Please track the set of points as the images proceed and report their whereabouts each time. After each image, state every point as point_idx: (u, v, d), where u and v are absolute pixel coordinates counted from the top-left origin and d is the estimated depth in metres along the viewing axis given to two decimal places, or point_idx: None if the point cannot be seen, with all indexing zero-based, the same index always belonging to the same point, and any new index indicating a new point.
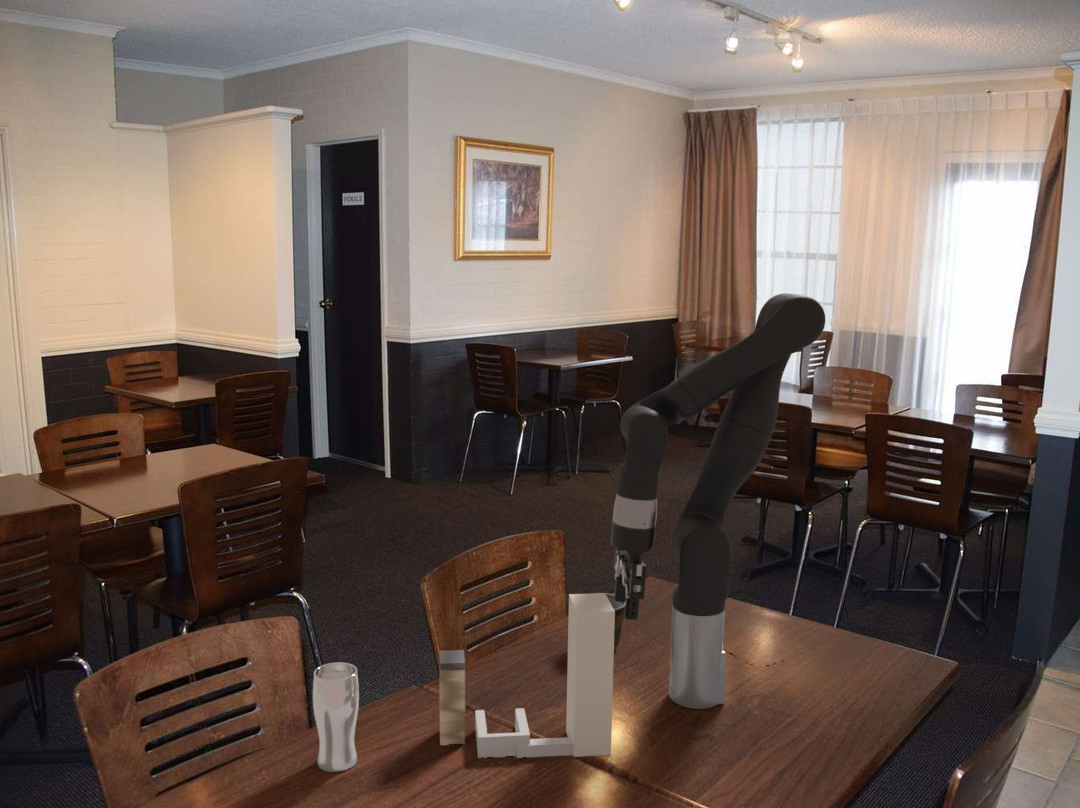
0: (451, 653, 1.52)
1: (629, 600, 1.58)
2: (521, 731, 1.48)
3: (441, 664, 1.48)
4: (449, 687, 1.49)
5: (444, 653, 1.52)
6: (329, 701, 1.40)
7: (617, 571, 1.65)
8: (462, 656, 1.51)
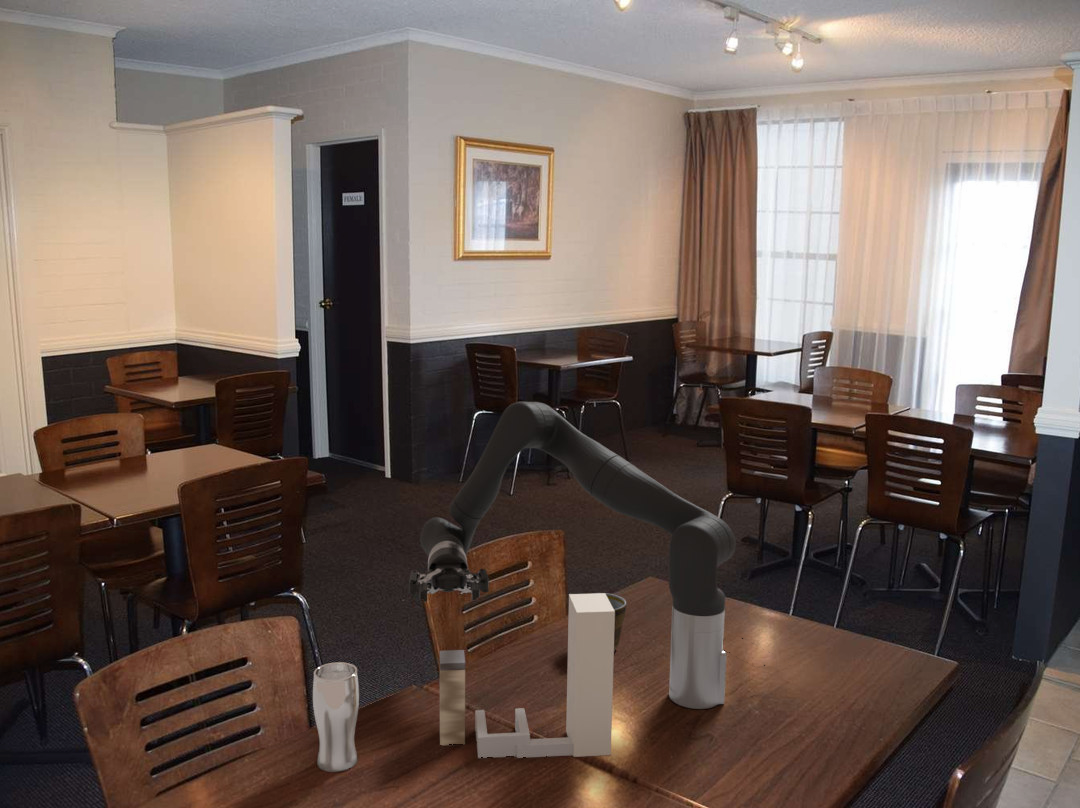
0: (451, 653, 1.52)
1: None
2: (521, 731, 1.48)
3: (441, 664, 1.48)
4: (449, 687, 1.49)
5: (444, 653, 1.52)
6: (329, 701, 1.40)
7: (464, 591, 1.68)
8: (462, 656, 1.51)
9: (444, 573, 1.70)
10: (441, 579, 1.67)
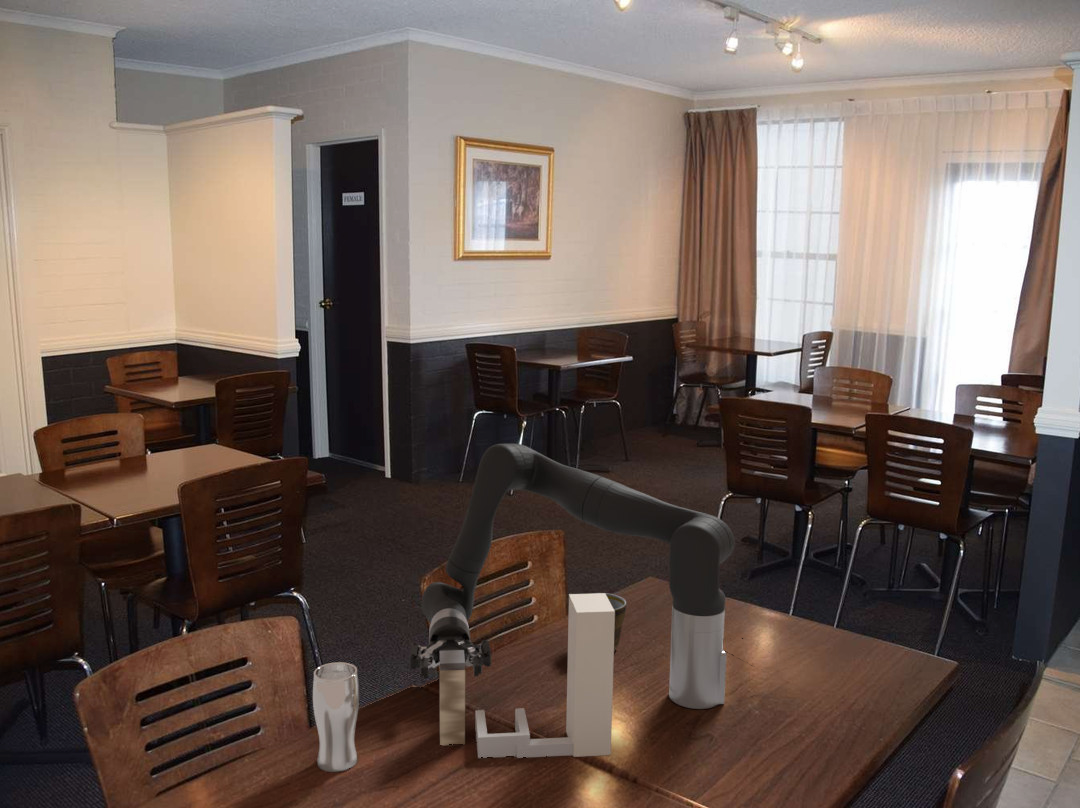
0: (451, 653, 1.52)
1: None
2: (521, 731, 1.48)
3: (441, 664, 1.48)
4: (449, 687, 1.49)
5: (444, 653, 1.52)
6: (329, 701, 1.40)
7: (466, 664, 1.64)
8: (462, 656, 1.51)
9: (445, 646, 1.65)
10: None
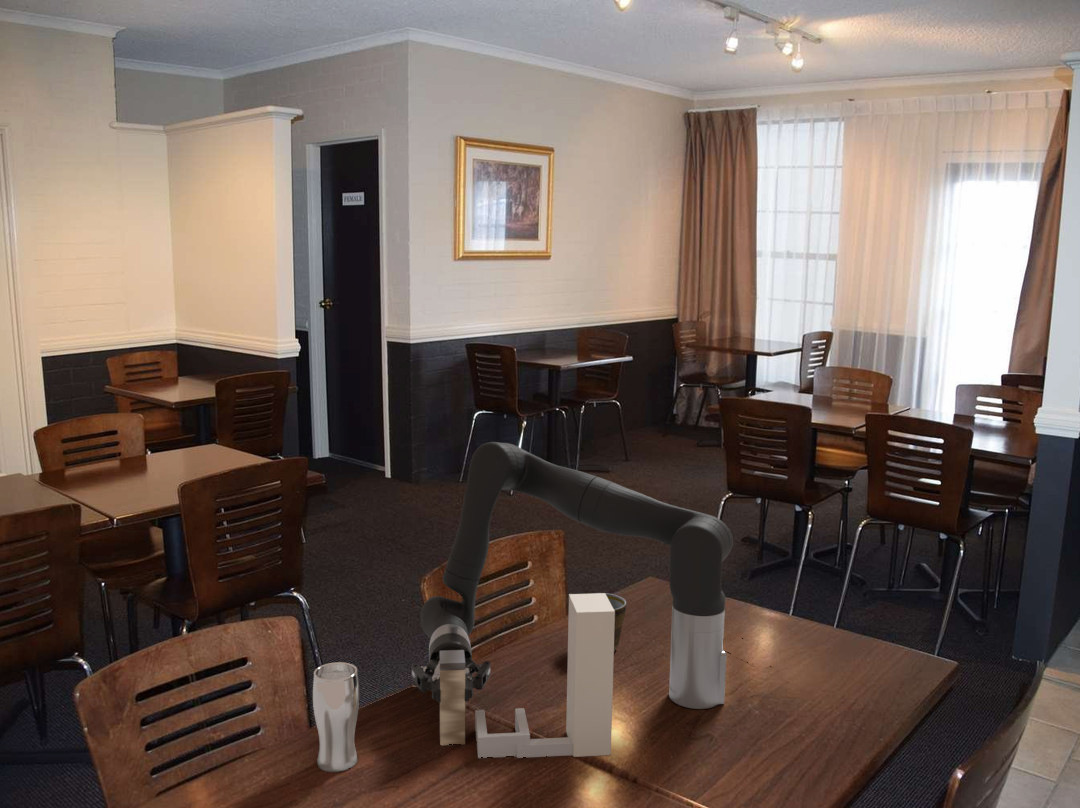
0: (451, 653, 1.52)
1: None
2: (521, 731, 1.48)
3: (441, 664, 1.48)
4: (449, 687, 1.49)
5: (444, 653, 1.52)
6: (329, 701, 1.40)
7: None
8: (462, 656, 1.51)
9: None
10: None
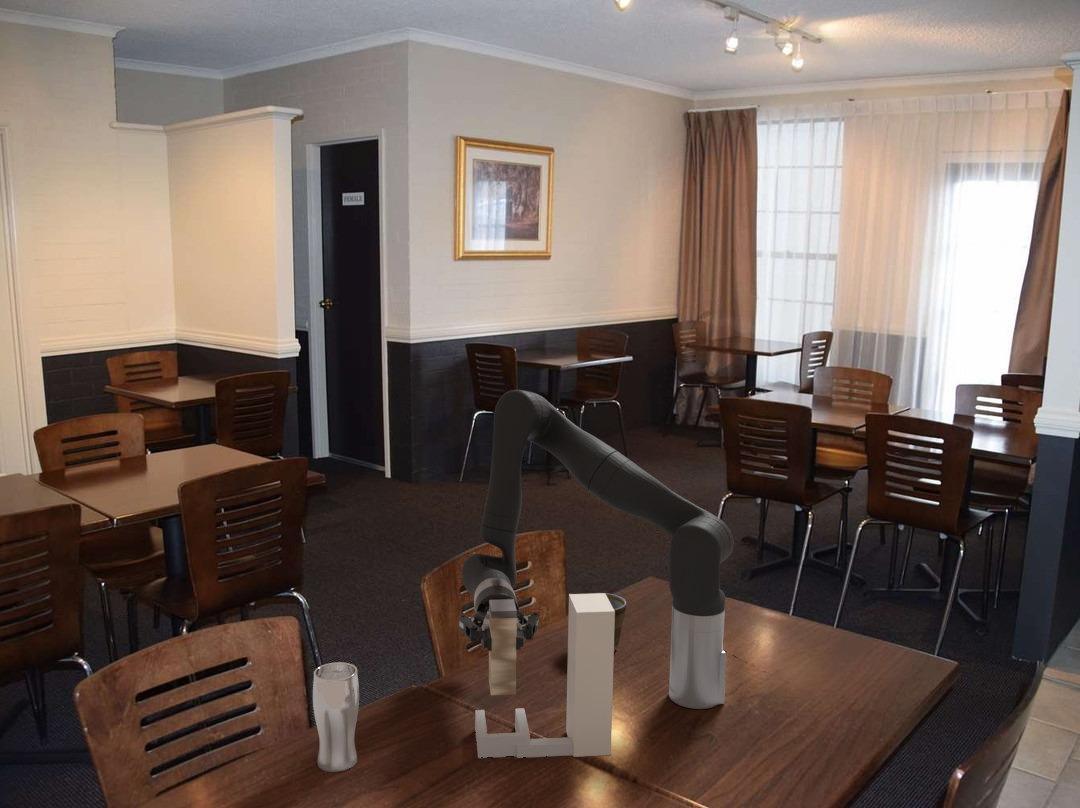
0: (501, 602, 1.49)
1: None
2: (521, 731, 1.48)
3: (492, 612, 1.46)
4: (500, 635, 1.46)
5: (494, 602, 1.49)
6: (329, 701, 1.40)
7: None
8: (513, 605, 1.48)
9: None
10: None
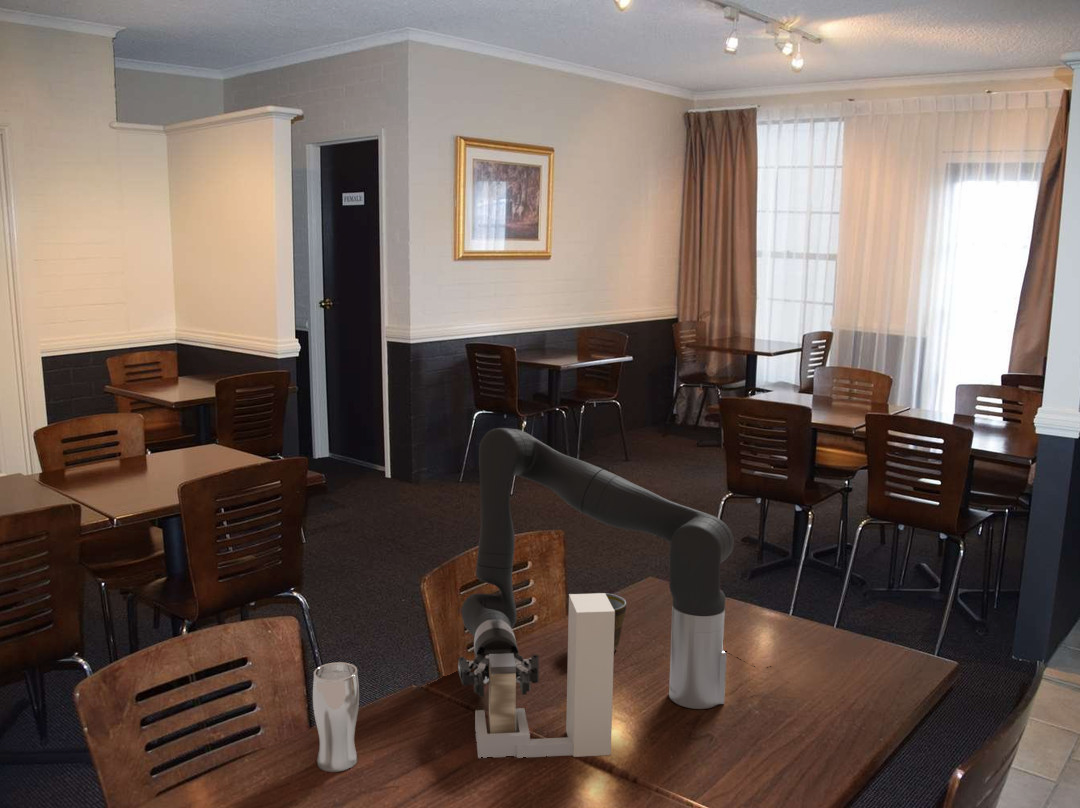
0: (501, 656, 1.51)
1: None
2: (521, 731, 1.48)
3: (492, 667, 1.47)
4: (500, 691, 1.48)
5: (494, 656, 1.51)
6: (329, 701, 1.40)
7: None
8: (512, 659, 1.50)
9: None
10: None
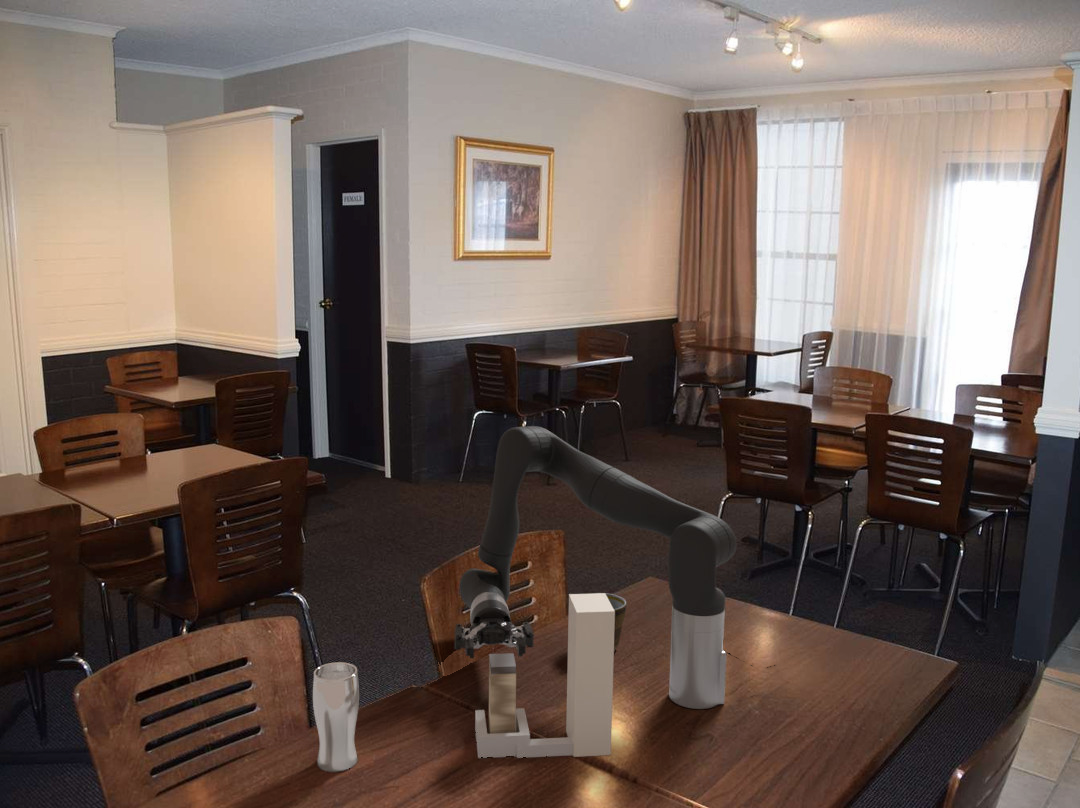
0: (501, 656, 1.51)
1: None
2: (521, 731, 1.48)
3: (492, 667, 1.47)
4: (500, 691, 1.48)
5: (494, 656, 1.51)
6: (329, 701, 1.40)
7: (509, 645, 1.69)
8: (512, 659, 1.50)
9: (488, 627, 1.70)
10: (486, 634, 1.68)
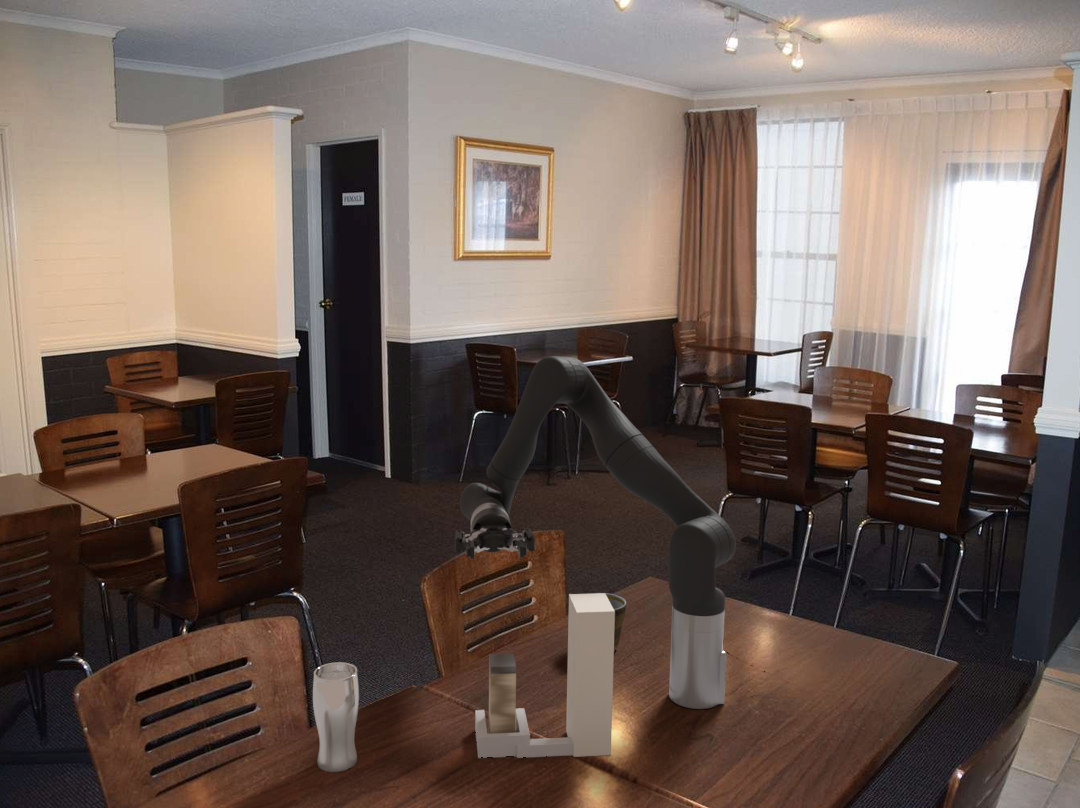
0: (501, 656, 1.51)
1: None
2: (521, 731, 1.48)
3: (492, 667, 1.47)
4: (500, 691, 1.48)
5: (494, 656, 1.51)
6: (329, 701, 1.40)
7: (510, 550, 1.66)
8: (512, 659, 1.50)
9: (489, 532, 1.67)
10: (487, 538, 1.65)
